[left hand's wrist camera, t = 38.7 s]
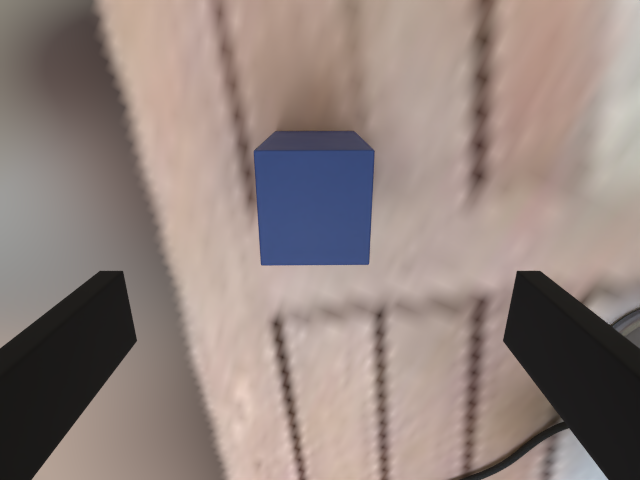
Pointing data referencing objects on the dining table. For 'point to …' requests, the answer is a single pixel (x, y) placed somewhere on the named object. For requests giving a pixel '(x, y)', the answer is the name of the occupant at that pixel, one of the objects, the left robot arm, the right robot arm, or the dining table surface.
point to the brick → (314, 198)
